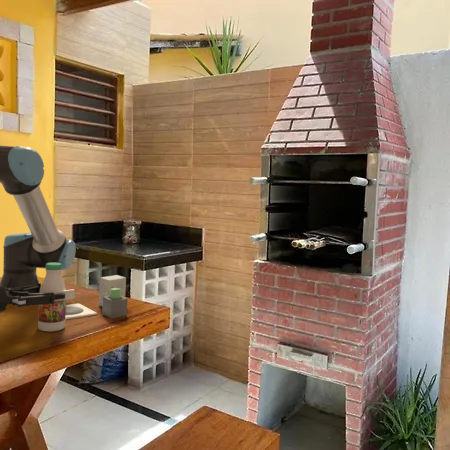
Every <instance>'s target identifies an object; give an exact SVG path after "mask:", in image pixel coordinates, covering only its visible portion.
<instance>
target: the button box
mask: <svg viewBox="0 0 450 450" xmlns="http://www.w3.org/2000/svg"><path fill="white" fill-rule="evenodd" d="M101 312H102V315H104V316H105V317H108V318H109V319H115V318H117V319H118V318H123V317H127V316H128V298H127V297H126V296H125V297H123V296H121V299H116V300H112V299H110V296H105V297H103V307H102V310H101Z"/></svg>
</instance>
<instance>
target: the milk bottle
mask: <svg viewBox="0 0 450 450" xmlns="http://www.w3.org/2000/svg"><path fill="white" fill-rule="evenodd" d="M62 271H63V270H62V264H61V263H47V264H46V269H45V277H44V279H43V280H42V283H41V287H40V292H39V293H53V292H54V291H63V290H67V288H66V285H65V282H64V280H63V277H62ZM66 305H67V300H59V301H54V304H43V305H38V315H37V316H38V317H37V318H38V319H37V321H38V322H37V328H38V330H39V331H42V332H50V333H51V332H52V333H53V332H58V331H61V330H62V331H63V329H64V328H65V326H66V320H65V314H66Z"/></svg>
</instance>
